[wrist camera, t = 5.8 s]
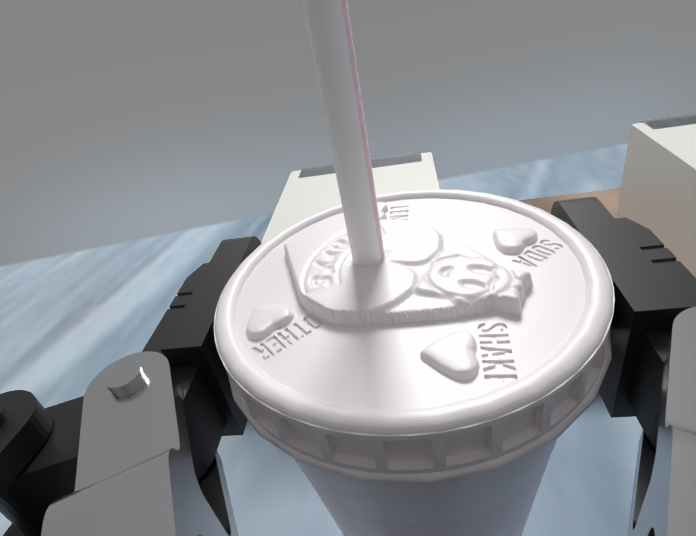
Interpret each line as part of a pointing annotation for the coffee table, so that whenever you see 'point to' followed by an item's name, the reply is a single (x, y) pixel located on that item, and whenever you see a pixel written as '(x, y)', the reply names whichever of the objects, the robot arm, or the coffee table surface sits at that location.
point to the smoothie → (414, 337)
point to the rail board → (628, 201)
